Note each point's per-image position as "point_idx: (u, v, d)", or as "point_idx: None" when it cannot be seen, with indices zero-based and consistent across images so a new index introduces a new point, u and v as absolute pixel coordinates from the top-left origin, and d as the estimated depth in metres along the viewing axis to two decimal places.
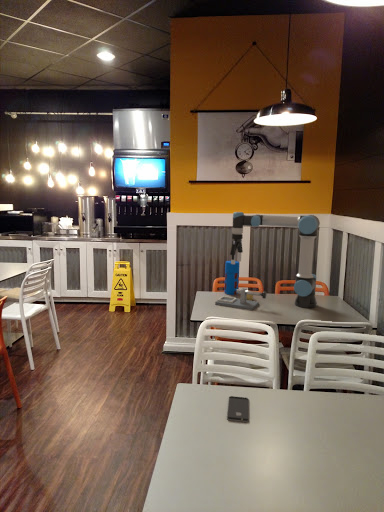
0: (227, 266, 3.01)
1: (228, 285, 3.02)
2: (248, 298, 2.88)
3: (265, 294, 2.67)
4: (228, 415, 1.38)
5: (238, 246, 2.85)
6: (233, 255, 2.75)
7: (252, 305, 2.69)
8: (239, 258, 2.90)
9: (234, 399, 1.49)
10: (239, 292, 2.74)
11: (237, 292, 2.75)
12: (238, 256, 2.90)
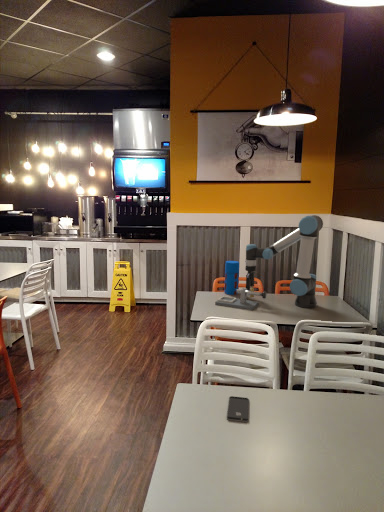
0: (227, 266, 3.01)
1: (228, 285, 3.02)
2: None
3: (265, 294, 2.67)
4: (228, 415, 1.38)
5: (251, 278, 2.90)
6: (248, 288, 2.84)
7: (252, 305, 2.69)
8: None
9: (234, 399, 1.49)
10: (239, 292, 2.74)
11: (237, 292, 2.75)
12: None
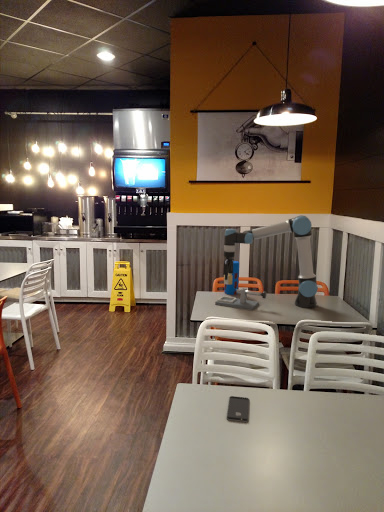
0: None
1: (228, 285, 3.02)
2: None
3: (265, 294, 2.67)
4: (228, 415, 1.38)
5: (229, 264, 2.77)
6: (226, 275, 2.72)
7: (252, 305, 2.69)
8: None
9: (234, 399, 1.49)
10: (239, 292, 2.74)
11: (237, 292, 2.75)
12: None
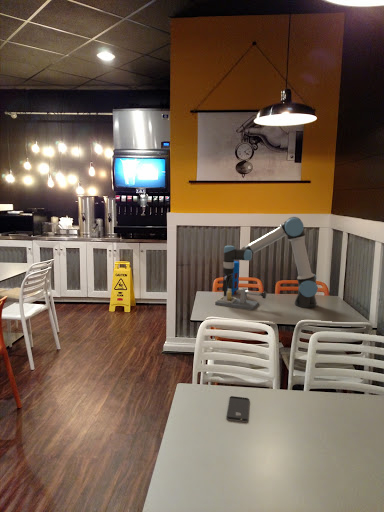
0: None
1: None
2: None
3: (265, 294, 2.67)
4: (227, 415, 1.38)
5: (229, 280, 2.79)
6: (225, 291, 2.73)
7: (252, 305, 2.69)
8: None
9: (235, 399, 1.49)
10: (239, 292, 2.74)
11: (237, 292, 2.75)
12: None
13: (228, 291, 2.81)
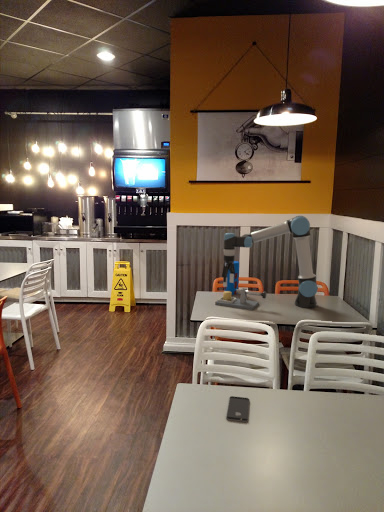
0: None
1: (228, 285, 3.02)
2: (226, 299, 2.77)
3: (265, 294, 2.67)
4: (227, 415, 1.38)
5: None
6: (225, 277, 2.69)
7: (252, 305, 2.69)
8: (231, 279, 2.83)
9: (235, 399, 1.49)
10: (239, 292, 2.74)
11: (237, 292, 2.75)
12: (230, 277, 2.83)
13: (228, 291, 2.81)
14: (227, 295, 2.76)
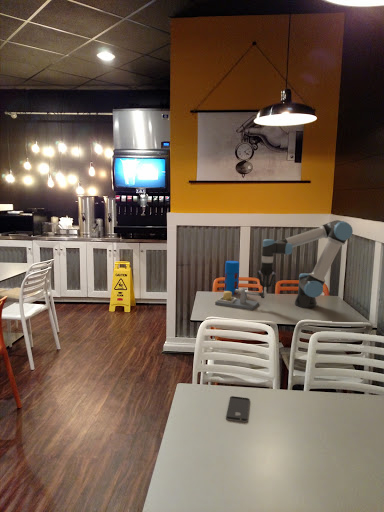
0: (227, 266, 3.01)
1: (228, 285, 3.02)
2: (227, 299, 2.77)
3: None
4: (227, 415, 1.38)
5: (267, 277, 2.65)
6: None
7: (252, 305, 2.69)
8: None
9: (235, 399, 1.49)
10: (238, 292, 2.74)
11: (236, 292, 2.75)
12: None
13: (228, 291, 2.81)
14: (228, 295, 2.76)
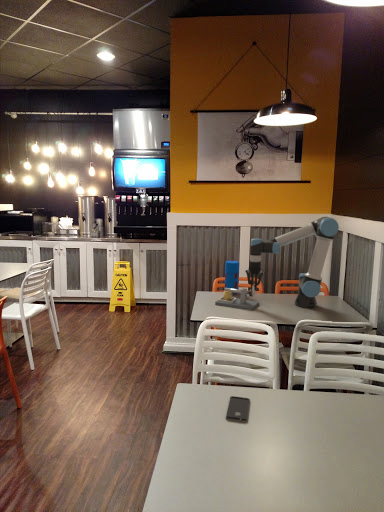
0: (227, 266, 3.01)
1: (228, 285, 3.02)
2: (227, 299, 2.77)
3: None
4: (227, 414, 1.38)
5: (255, 275, 2.68)
6: None
7: (252, 305, 2.69)
8: None
9: (235, 399, 1.49)
10: (227, 290, 2.78)
11: (225, 290, 2.78)
12: None
13: None
14: (228, 295, 2.76)
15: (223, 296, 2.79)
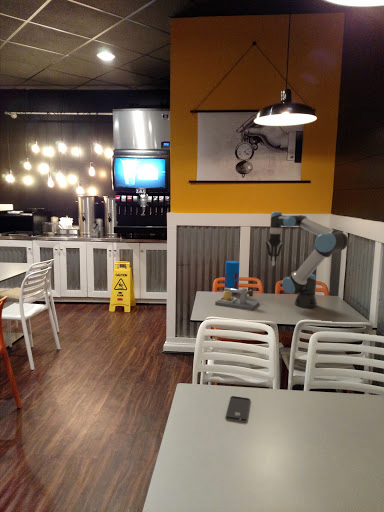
0: (227, 266, 3.01)
1: (228, 285, 3.02)
2: (228, 299, 2.77)
3: (252, 292, 2.70)
4: (227, 414, 1.39)
5: (275, 247, 2.84)
6: None
7: (252, 305, 2.69)
8: None
9: (235, 399, 1.49)
10: (227, 290, 2.78)
11: (225, 290, 2.79)
12: None
13: (227, 291, 2.81)
14: (229, 295, 2.76)
15: (223, 296, 2.78)
